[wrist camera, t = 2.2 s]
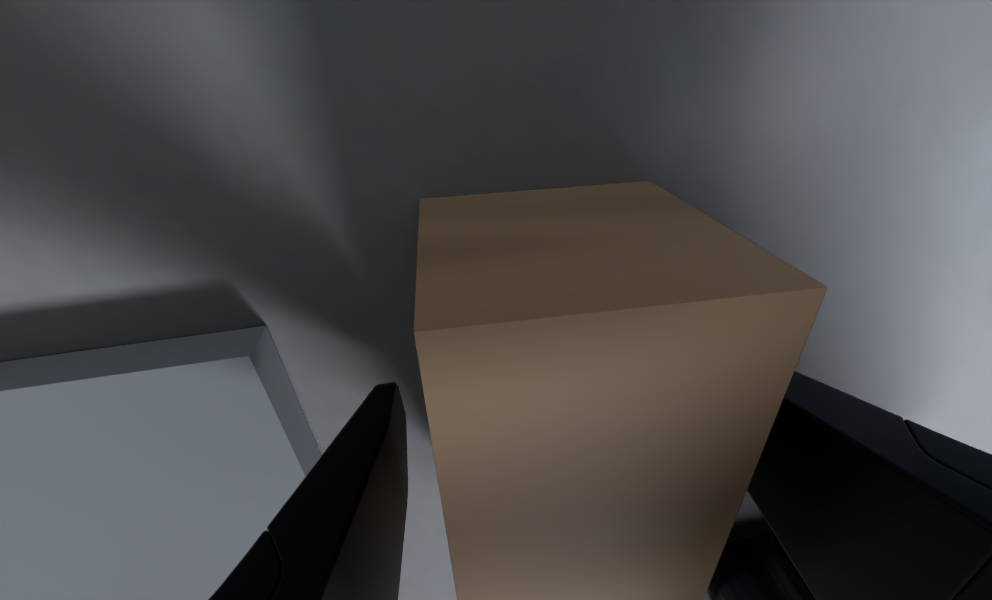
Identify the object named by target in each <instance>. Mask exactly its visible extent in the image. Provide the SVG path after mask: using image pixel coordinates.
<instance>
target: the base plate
mask: <svg viewBox="0 0 992 600" xmlns="http://www.w3.org/2000/svg"><path fill="white" fill-rule="evenodd" d="M320 457H321V454H320V451H319V449H318V446H317V444H316V442H315V439H314V437H313V435H312V432H311V430H310V427H309V425H308V423H307V420H306V418H305V416H304V413H303V411H302V409H301V406H300V404H299V401H298V399H297V397H296V394H295V392H294V390H293V387H292V385H291V383H290V380H289V378H288V375H287V373H286V371H285V368H284V366H283V364H282V361H281V359H280V357H279V354H278V352H277V349H276V347H275V345H274V342H273V340H272V338H271V335H270V333H269V330H268V328H267V326H260V327H253V328H245V329H238V330H231V331H224V332H216V333H209V334H202V335H194V336H187V337H180V338H172V339H165V340H158V341H151V342H143V343H136V344H129V345H121V346H114V347H107V348H99V349H92V350H85V351H78V352H70V353H63V354H56V355H48V356H41V357H34V358H26V359H19V360H12V361H5V362H0V600H208V599H209V598H210V597H211V596H212V595H213V594H214V592H215V591H216V590H217V589H218V588H219V587H220V585H221V584H222V583H223V582H224V581H225V579H226V578H227V577H228V576H229V574H230V573H231V572H232V571H233V569H234V568H235V567H236V566H237V564H238V563H239V562H240V561H241V559H242V558H243V557H244V556H245V554H246V553H247V552H248V551H249V549H250V548H251V547H252V545H253V544H254V543H255V542H256V540H257V539H258V538H259V536H260V535H261V534H262V532H263V531H268V530H267V526H268V525H269V524H270V522H271V521H272V520H273V518H274V517H275V516H276V514H277V513H278V512H279V511H280V509H281V508H282V507H283V505H284V504H285V503H286V501H287V500H288V499H289V498H290V496H291V495H292V494H293V492H294V491H295V490H296V488H297V487H298V486H299V485H300V483H301V482H302V481H303V479H304V478H305V477H306V475H307V474H308V473H309V472H310V470H311V469H312V468H313V466H314V465H315V464H316V462H317V461H318V460H319V459H320Z"/></svg>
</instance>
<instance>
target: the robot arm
mask: <svg viewBox="0 0 992 600" xmlns="http://www.w3.org/2000/svg"><path fill="white" fill-rule="evenodd" d="M747 491H748V492H749V494H750V496H751V497H752V499H753V500H754V502H755V504H756V505H757V507H758V508H759V510H760V512H761V513H762V515H763V516H764V518H765V519H766V522H761V523H756V524H750V525H745V526H740V527H734V528H732V529H731V531H730V534H729V536H728V539H727V541H726V544H725V546H724V549H723V551H722V554H721V556H720V559H719V561H718V564H717V566H716V569H715V571H714V574H713V576H712V579H711V581H710V584H709V586H708V589H707V591H706V594H705V596H704V599H703V600H992V454H989V453H986V452H984V451H981V450H979V449H976V448H974V447H971V446H969V445H966V444H964V443H961V442H959V441H957V440H954V439H952V438H949V437H947V436H945V435H942V434H940V433H937V432H935V431H933V430H930V429H928V428H926V427H923V426H921V425H919V424H917V423H914V422H912V421H910V420H903V418H902V417H900V416H898V415H895V414H893V413H891V412H888V411H886V410H884V409H882V408H879V407H877V406H875V405H872V404H870V403H868V402H865V401H863V400H861V399H858V398H856V397H854V396H851V395H849V394H847V393H844V392H842V391H840V390H837V389H835V388H833V387H830V386H828V385H826V384H823V383H821V382H819V381H816V380H814V379H812V378H809V377H807V376H805V375H803V374H800V373H798V372H796V371H794V373H793V375H792V378H791V380H790V383H789V385H788V388H787V390H786V393H785V395H784V398H783V400H782V403H781V405H780V408H779V410H778V413H777V416H776V418H775V421H774V423H773V426H772V428H771V431H770V433H769V436H768V438H767V441H766V443H765V446H764V448H763V451H762V453H761V456H760V458H759V461H758V463H757V466H756V468H755V471H754V473H753V476H752V478H751V481H750V483H749V486H748V488H747ZM407 497H408V468H407V430H406V415H405V410H404V406H403V402H402V398H401V394H400V390H399V387H398V385H397V383H395V382H391V383H385V384H379V385H376V386H375V387H374V388H373V390H372V391H371V392H370V393H369V395H368V396H367V397H366V399H365V400H364V401H363V403H362V404H361V405H360V406H359V408H358V409H357V410H356V412H355V413H354V414H353V416H352V417H351V418H350V419H349V421H348V422H347V423H346V425H345V426H344V427H343V429H342V430H341V431H340V432H339V434H338V435H337V436H336V438H335V439H334V440H333V442H332V443H331V444H330V445H329V447H328V448H327V449H326V451H325V452H324V453H323V455H322V456H321V457H320V459H319V460H318V461H317V462H316V464H315V465H314V466H313V468H312V469H311V470H310V472H309V473H308V474H307V475H306V477H305V478H304V479H303V481H302V482H301V483H300V485H299V486H298V487H297V488H296V490H295V491H294V492H293V494H292V495H291V496H290V498H289V499H288V500H287V501H286V503H285V504H284V505H283V507H282V508H281V509H280V511H279V512H278V513H277V514H276V516H275V517H274V518H273V520H272V521H271V522H270V524H269V525H268V526H267V530H268V531H263V532H262V534H261V535H260V536H259V538H258V539H257V540H256V542H255V543H254V544H253V545H252V547H251V548H250V549H249V551H248V552H247V553H246V554H245V556H244V557H243V558H242V559H241V561H240V562H239V563H238V564H237V566H236V567H235V568H234V569H233V571H232V572H231V573H230V574H229V576H228V577H227V578H226V579H225V581H224V582H223V583H222V584H221V585H220V587H219V588H218V589H217V590H216V591H215V592H214V594H213V595H212V596H211V597H210V598H209V599H208V600H398V593H399V583H400V573H401V562H402V552H403V541H404V531H405V520H406V510H407Z"/></svg>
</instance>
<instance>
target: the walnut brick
mask: <svg viewBox="0 0 992 600" xmlns="http://www.w3.org/2000/svg"><path fill="white" fill-rule="evenodd" d="M826 290H827V287H826V286H825V285H823V284H821V283H820V282H818V281H816V280H814V279H813V278H811V277H809V276H808V275H806V274H804V273H803V272H801V271H799V270H798V269H796V268H794V267H793V266H791V265H789V264H788V263H786V262H784V261H783V260H781V259H779V258H778V257H776V256H774V255H773V254H771V253H769V252H768V251H766V250H764V249H763V248H761V247H759V246H758V245H756V244H754V243H753V242H751V241H749V240H748V239H746V238H744V237H743V236H741V235H739V234H738V233H736V232H734V231H733V230H731V229H729V228H728V227H726V226H724V225H723V224H721V223H719V222H718V221H716V220H714V219H713V218H711V217H709V216H708V215H706V214H704V213H703V212H701V211H699V210H698V209H696V208H694V207H693V206H691V205H689V204H688V203H686V202H684V201H682V200H681V199H679V198H677V197H676V196H674V195H672V194H671V193H669V192H667V191H666V190H664V189H662V188H661V187H659V186H657V185H656V184H654V183H652V182H651V181H639V182H626V183H614V184H601V185H588V186H575V187H562V188H549V189H536V190H524V191H511V192H498V193H485V194H472V195H459V196H447V197H434V198H421V199H420V203H419V226H418V248H417V270H416V293H415V315H414V337H415V343H416V349H417V355H418V361H419V367H420V374H421V380H422V386H423V392H424V398H425V404H426V411H427V417H428V423H429V429H430V435H431V441H432V448H433V454H434V460H435V466H436V472H437V478H438V485H439V491H440V497H441V503H442V509H443V515H444V521H445V528H446V534H447V540H448V546H449V552H450V558H451V565H452V571H453V577H454V583H455V589H456V595H457V600H703V599H704V596H705V594H706V591H707V589H708V586H709V584H710V581H711V579H712V576H713V574H714V571H715V569H716V566H717V564H718V561H719V559H720V556H721V554H722V551H723V549H724V546H725V544H726V541H727V539H728V536H729V534H730V531H731V529H732V526H733V524H734V521H735V519H736V516H737V513H738V511H739V508H740V506H741V503H742V501H743V498H744V496H745V493H746V491H747V488H748V486H749V483H750V481H751V478H752V476H753V473H754V471H755V468H756V466H757V463H758V461H759V458H760V456H761V453H762V451H763V448H764V446H765V443H766V441H767V438H768V436H769V433H770V431H771V428H772V426H773V423H774V421H775V418H776V416H777V413H778V410H779V408H780V405H781V403H782V400H783V398H784V395H785V393H786V390H787V388H788V385H789V383H790V380H791V378H792V375H793V373H794V370H795V368H796V365H797V363H798V360H799V358H800V355H801V353H802V350H803V348H804V345H805V343H806V340H807V338H808V335H809V333H810V330H811V328H812V325H813V323H814V320H815V318H816V315H817V313H818V310H819V308H820V305H821V302H822V300H823V297H824V295H825V292H826Z"/></svg>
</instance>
